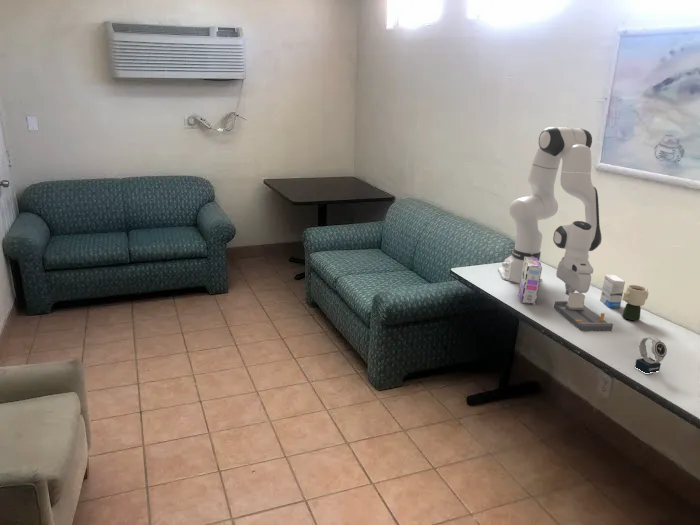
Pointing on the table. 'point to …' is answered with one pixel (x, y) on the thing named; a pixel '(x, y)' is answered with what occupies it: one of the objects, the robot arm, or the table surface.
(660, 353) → the watch
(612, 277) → the ink box
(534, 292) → the candy box
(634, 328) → the table surface
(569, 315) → the fader console
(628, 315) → the character mug
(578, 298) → the fader tab
